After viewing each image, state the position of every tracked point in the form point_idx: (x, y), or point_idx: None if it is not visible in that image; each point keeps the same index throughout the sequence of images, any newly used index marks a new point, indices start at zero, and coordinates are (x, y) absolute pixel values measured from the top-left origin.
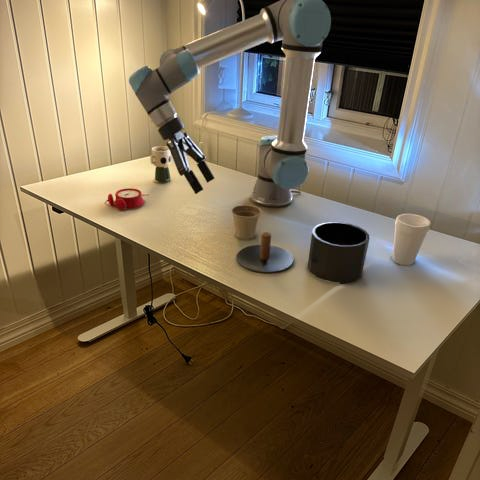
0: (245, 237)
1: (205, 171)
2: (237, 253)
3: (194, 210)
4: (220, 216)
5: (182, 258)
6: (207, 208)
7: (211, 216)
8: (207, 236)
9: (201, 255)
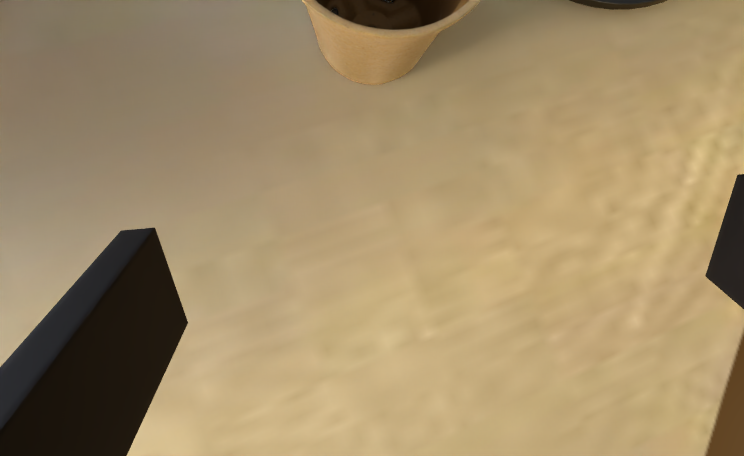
0: (426, 12)
1: (107, 385)
2: (627, 2)
3: None
4: None
5: None
6: None
7: None
8: (455, 229)
9: (668, 184)
